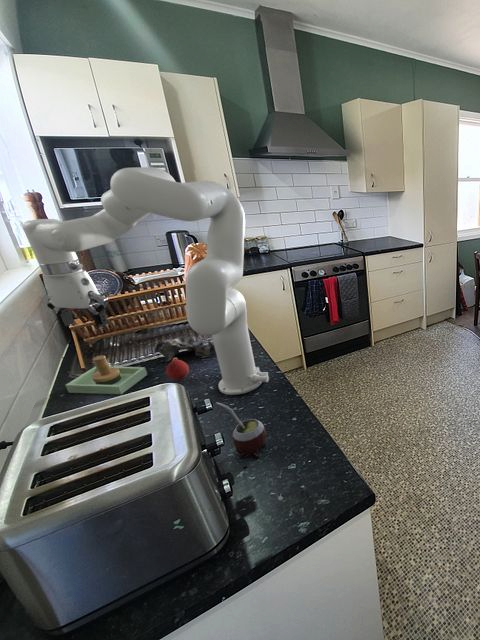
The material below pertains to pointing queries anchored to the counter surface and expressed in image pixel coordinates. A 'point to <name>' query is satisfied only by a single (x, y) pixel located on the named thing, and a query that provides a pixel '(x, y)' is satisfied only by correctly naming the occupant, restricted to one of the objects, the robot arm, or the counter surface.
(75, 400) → the counter surface
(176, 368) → the onion
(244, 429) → the mate gourd
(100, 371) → the brush
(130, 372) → the tray
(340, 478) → the counter surface
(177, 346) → the foil
